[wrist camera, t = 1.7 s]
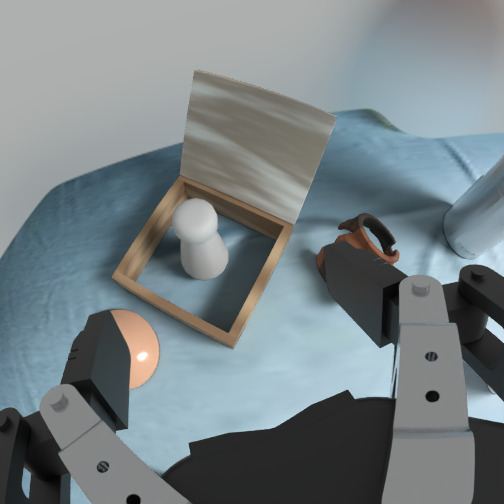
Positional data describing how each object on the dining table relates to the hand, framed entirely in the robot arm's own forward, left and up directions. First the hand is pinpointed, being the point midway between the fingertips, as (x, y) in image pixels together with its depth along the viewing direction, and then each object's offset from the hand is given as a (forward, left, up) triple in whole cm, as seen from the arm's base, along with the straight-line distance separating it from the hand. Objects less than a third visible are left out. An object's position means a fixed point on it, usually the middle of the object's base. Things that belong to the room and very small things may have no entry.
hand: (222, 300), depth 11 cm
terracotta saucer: (+7, -12, -27) cm, 30 cm away
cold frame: (-11, -8, -27) cm, 30 cm away
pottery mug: (-16, +9, -27) cm, 33 cm away
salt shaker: (-8, -8, -27) cm, 30 cm away
